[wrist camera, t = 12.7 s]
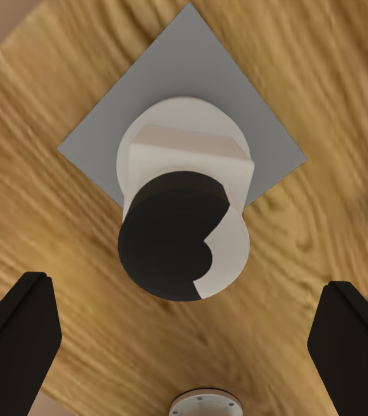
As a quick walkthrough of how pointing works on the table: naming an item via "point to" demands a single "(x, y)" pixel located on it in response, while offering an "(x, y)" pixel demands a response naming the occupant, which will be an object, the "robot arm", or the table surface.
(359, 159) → the table surface
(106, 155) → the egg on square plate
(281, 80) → the table surface
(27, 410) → the robot arm
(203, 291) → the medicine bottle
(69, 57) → the table surface
